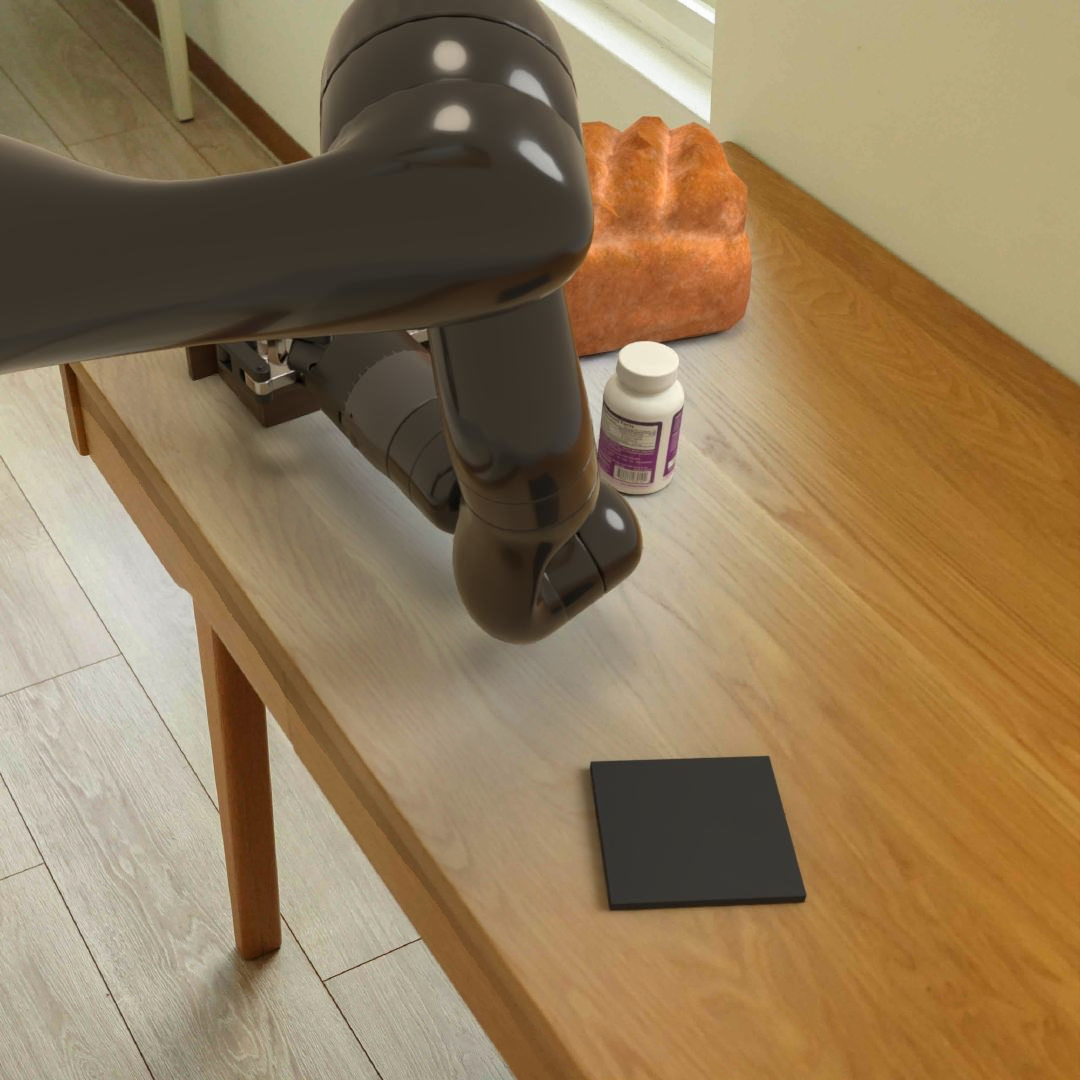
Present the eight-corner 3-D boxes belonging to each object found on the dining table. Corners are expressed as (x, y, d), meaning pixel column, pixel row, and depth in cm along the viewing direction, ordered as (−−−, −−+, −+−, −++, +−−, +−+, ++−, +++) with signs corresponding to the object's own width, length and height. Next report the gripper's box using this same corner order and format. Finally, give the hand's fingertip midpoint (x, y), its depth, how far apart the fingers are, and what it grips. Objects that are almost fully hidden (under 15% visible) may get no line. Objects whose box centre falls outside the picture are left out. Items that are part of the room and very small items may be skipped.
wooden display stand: (390, 386, 99) (387, 241, 91) (240, 436, 94) (223, 287, 86) (332, 328, 105) (325, 186, 97) (187, 373, 99) (166, 227, 91)
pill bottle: (636, 439, 96) (651, 325, 90) (688, 478, 93) (707, 362, 87) (579, 467, 93) (590, 351, 87) (631, 508, 91) (646, 390, 84)
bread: (759, 337, 107) (795, 155, 97) (439, 387, 100) (441, 196, 89) (687, 250, 117) (713, 77, 106) (390, 290, 109) (387, 107, 99)
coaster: (609, 910, 67) (610, 904, 67) (589, 767, 74) (590, 760, 74) (804, 902, 68) (807, 895, 68) (767, 762, 75) (769, 755, 75)
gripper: (495, 324, 85) (369, 213, 95) (292, 390, 79) (178, 265, 88) (491, 419, 90) (371, 305, 100) (300, 489, 84) (191, 360, 93)
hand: (281, 286), depth 94 cm, fingers open, 8 cm apart
